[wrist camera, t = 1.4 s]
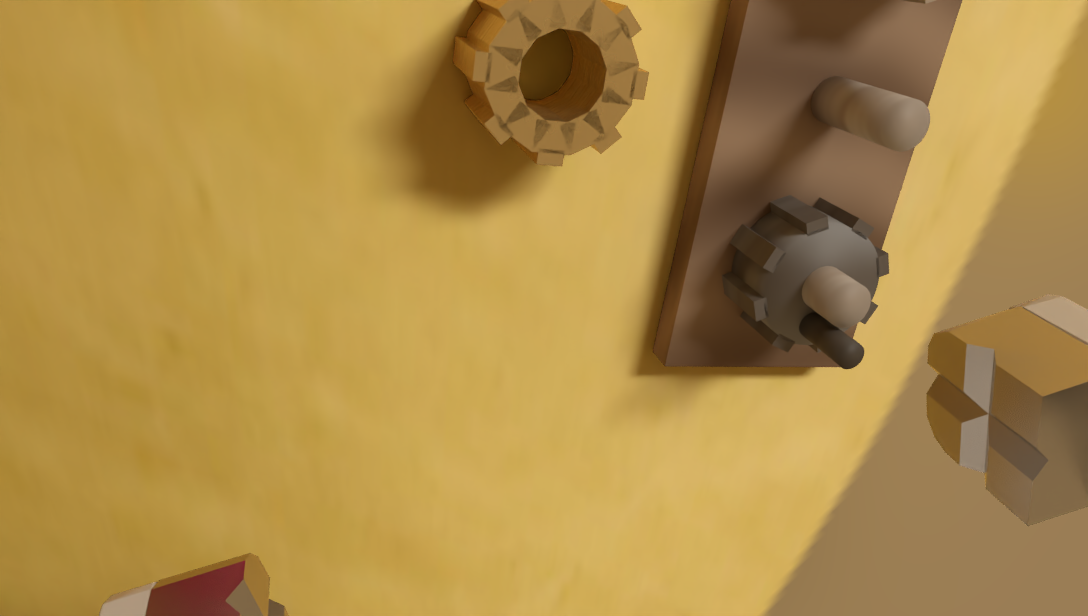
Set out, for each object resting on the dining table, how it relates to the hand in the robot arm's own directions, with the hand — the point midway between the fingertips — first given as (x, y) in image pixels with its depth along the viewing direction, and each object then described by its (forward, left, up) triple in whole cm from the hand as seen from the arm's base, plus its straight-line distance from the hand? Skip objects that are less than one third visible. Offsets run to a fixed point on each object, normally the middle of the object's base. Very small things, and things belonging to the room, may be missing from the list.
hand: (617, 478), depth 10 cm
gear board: (+2, -19, -26) cm, 32 cm away
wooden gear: (+2, -6, -26) cm, 26 cm away
